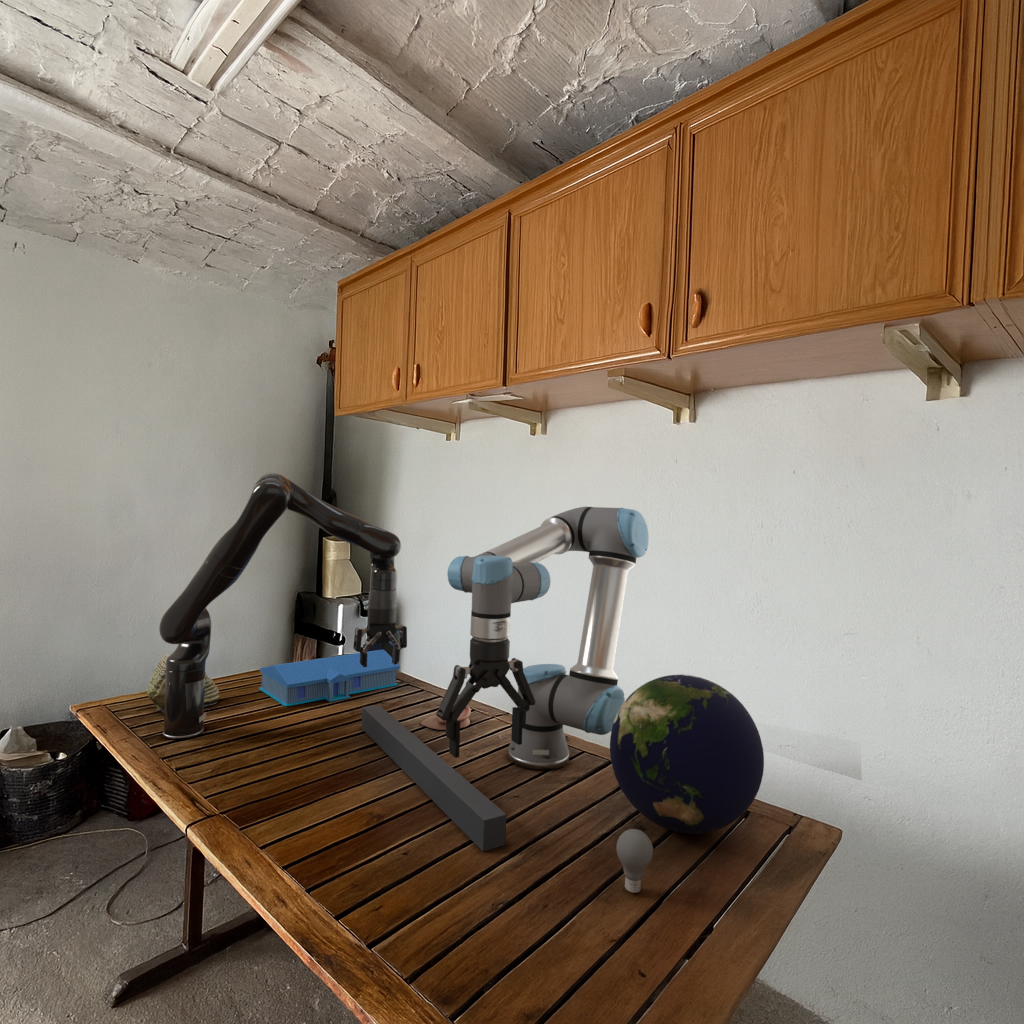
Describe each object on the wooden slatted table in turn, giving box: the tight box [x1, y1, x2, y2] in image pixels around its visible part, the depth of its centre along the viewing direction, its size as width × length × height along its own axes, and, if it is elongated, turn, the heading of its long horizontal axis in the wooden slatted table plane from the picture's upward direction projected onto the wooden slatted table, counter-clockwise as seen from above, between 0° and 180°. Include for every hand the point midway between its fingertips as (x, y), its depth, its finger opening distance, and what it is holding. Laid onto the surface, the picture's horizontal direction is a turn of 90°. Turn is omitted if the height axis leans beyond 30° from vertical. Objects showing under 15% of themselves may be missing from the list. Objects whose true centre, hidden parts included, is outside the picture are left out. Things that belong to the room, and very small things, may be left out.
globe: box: [609, 673, 765, 835], centre depth 128 cm, size 30×30×30 cm
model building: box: [258, 649, 401, 707], centre depth 208 cm, size 39×24×10 cm, turn 132°
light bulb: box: [615, 828, 654, 894], centre depth 106 cm, size 6×6×10 cm
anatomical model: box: [420, 705, 472, 731], centre depth 180 cm, size 13×4×12 cm
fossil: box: [147, 654, 221, 712], centre depth 185 cm, size 9×18×15 cm, turn 132°
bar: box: [361, 704, 507, 852], centre depth 146 cm, size 69×5×6 cm, turn 32°
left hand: (379, 665), depth 171 cm, fingers open, 8 cm apart
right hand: (486, 748), depth 121 cm, fingers open, 13 cm apart
